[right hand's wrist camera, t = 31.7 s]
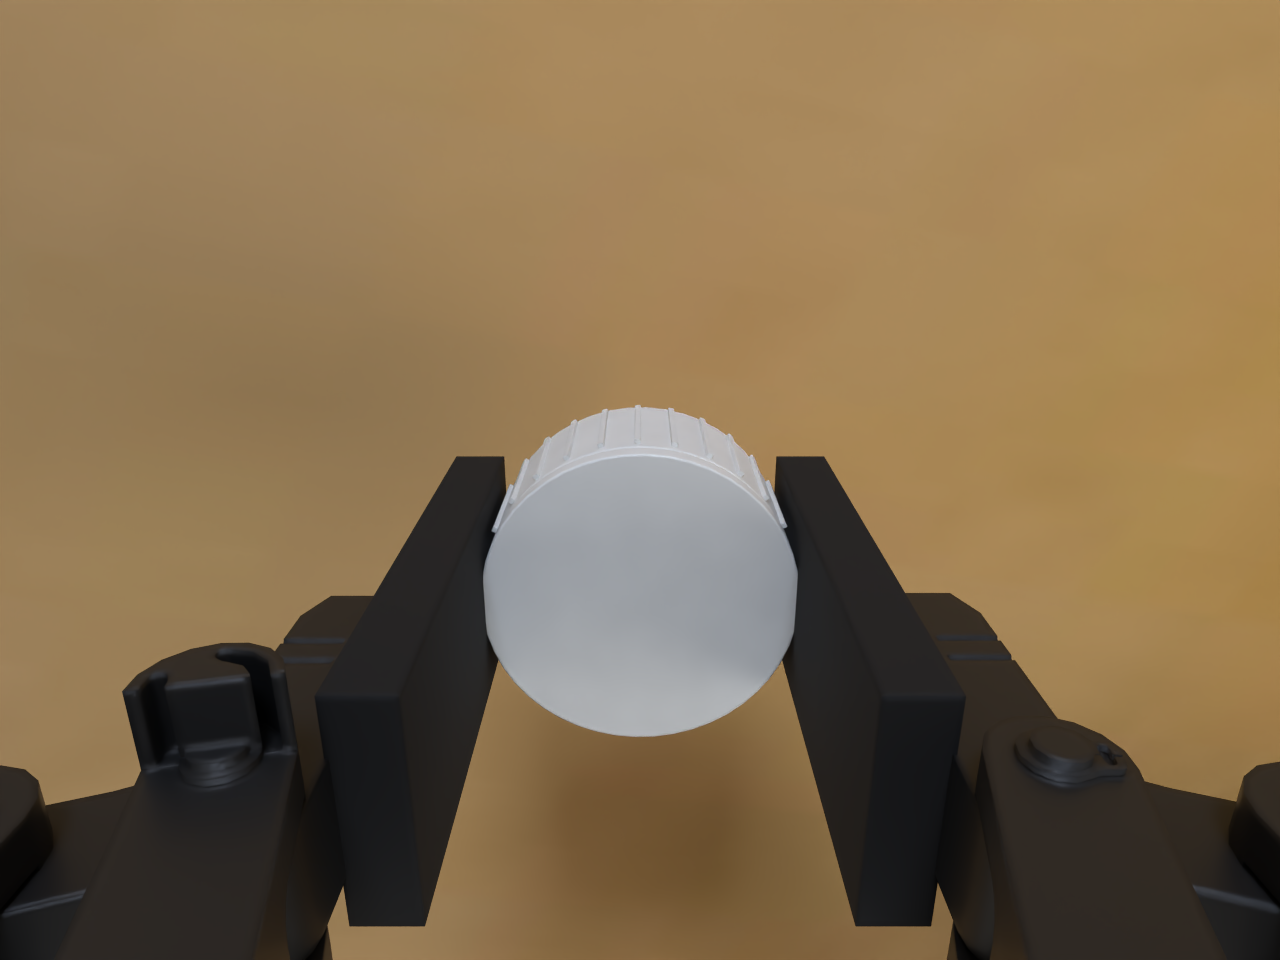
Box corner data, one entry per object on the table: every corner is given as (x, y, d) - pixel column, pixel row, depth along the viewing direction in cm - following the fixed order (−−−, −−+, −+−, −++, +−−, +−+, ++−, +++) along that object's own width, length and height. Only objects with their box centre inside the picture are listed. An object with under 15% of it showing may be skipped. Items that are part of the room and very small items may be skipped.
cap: (728, 361, 13) (745, 402, 11) (813, 610, 15) (842, 687, 13) (455, 460, 14) (422, 516, 12) (563, 689, 15) (551, 776, 13)
